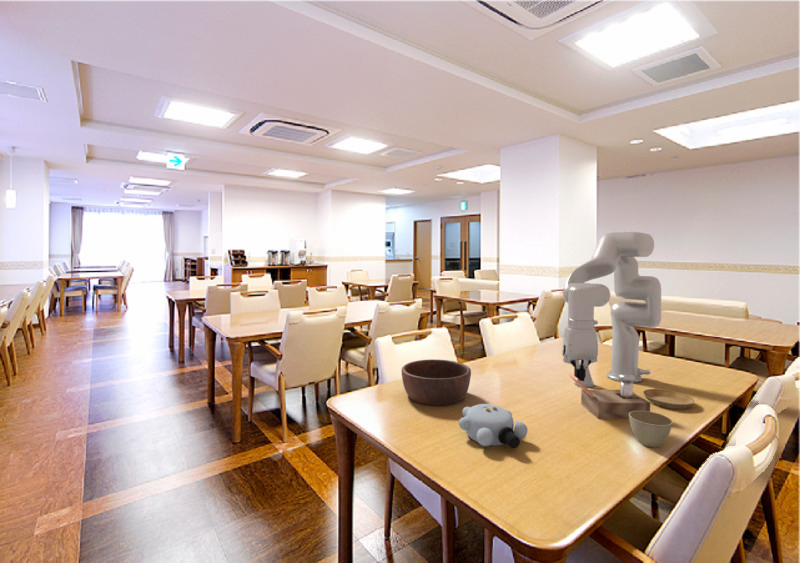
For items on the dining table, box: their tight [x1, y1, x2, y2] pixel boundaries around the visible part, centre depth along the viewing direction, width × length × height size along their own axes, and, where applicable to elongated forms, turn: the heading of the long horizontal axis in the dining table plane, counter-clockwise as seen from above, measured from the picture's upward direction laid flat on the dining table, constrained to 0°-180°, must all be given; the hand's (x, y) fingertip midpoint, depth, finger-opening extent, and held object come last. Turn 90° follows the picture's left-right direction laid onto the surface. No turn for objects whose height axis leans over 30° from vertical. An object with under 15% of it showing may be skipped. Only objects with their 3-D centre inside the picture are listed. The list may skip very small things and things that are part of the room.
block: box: [580, 388, 651, 420], centre depth 130 cm, size 16×12×6 cm
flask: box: [573, 360, 595, 388], centre depth 156 cm, size 7×7×10 cm
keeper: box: [568, 373, 594, 397], centre depth 130 cm, size 8×6×1 cm
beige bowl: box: [628, 411, 674, 448], centre depth 108 cm, size 10×10×7 cm
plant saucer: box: [642, 388, 696, 410], centre depth 137 cm, size 15×15×3 cm
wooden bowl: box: [400, 359, 472, 406], centre depth 144 cm, size 25×25×10 cm
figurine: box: [458, 403, 529, 450], centre depth 111 cm, size 17×8×20 cm
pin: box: [619, 373, 635, 399], centre depth 130 cm, size 5×5×12 cm
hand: (579, 379), depth 130 cm, fingers closed
